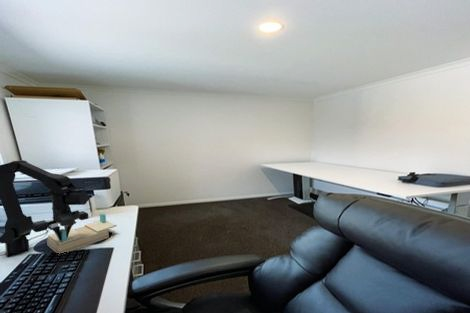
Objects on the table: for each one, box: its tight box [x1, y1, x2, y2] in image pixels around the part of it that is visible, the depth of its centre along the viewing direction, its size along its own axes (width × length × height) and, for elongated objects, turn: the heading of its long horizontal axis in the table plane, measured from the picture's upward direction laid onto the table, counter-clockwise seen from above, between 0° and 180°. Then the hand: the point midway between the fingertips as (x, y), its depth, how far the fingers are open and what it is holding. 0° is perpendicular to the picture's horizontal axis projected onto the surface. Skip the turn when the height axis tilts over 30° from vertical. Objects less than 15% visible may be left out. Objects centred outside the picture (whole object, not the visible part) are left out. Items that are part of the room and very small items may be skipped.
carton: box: [46, 225, 110, 255], centre depth 103 cm, size 20×16×4 cm
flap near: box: [47, 228, 84, 245], centre depth 98 cm, size 9×15×5 cm, turn 56°
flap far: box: [84, 212, 118, 232], centre depth 111 cm, size 9×15×5 cm, turn 56°
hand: (63, 239), depth 94 cm, fingers closed
